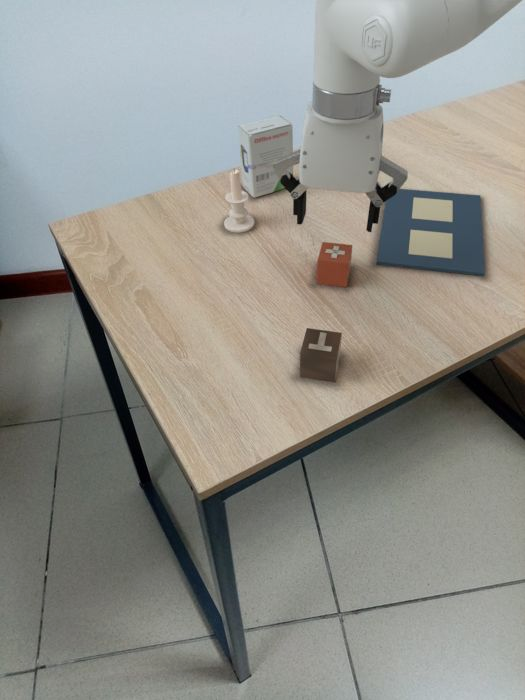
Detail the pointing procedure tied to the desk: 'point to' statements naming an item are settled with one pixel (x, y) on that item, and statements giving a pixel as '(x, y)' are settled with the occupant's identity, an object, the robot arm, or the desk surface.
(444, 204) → the mat
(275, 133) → the ink box
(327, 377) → the wooden letter block
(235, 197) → the candle
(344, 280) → the rust brown block
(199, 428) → the desk surface
